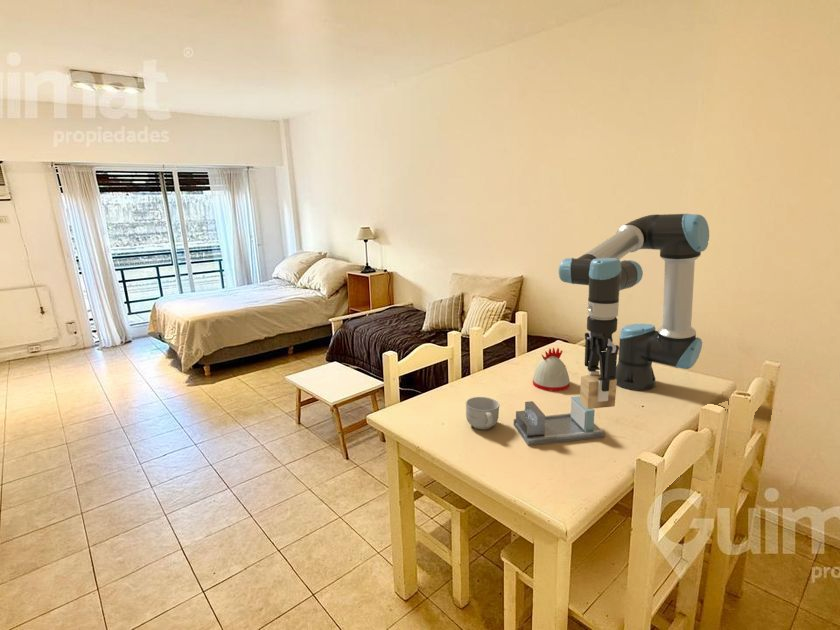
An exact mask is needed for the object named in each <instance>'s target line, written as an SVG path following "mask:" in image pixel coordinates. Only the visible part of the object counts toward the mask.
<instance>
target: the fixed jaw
mask: <svg viewBox="0 0 840 630" xmlns="http://www.w3.org/2000/svg"><path fill="white" fill-rule="evenodd" d="M545 416H546V414H544V412H542V410H541V409H540V408H539V407H538V406H537V404H536V403H535V402H534V401H530V400H529V401H525V402H524V410H519V411H518V410H517V411H515V419H516V424H517V425H518V426H519V428H520V429H521V431H522V432H523V434H524V435H525V436H526V438H531V437H540V436H545Z"/></svg>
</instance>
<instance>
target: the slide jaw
mask: <svg viewBox="0 0 840 630" xmlns="http://www.w3.org/2000/svg"><path fill="white" fill-rule="evenodd" d="M595 411H596V410H595V408H593V409H587V408H586V407H585V406H584V405H582V404H581V403H580V395H578V396H571V400H570V413H571V418H572V419H573V420H574V421H575V422H576V423H577V424H578V425H579V426H580V427H581V428H582V429H583V430H584V431H585V432H586V431H593V429H594V424H595Z"/></svg>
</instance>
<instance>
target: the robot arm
mask: <svg viewBox="0 0 840 630" xmlns="http://www.w3.org/2000/svg"><path fill="white" fill-rule="evenodd" d="M709 241H710V227H709V223H708V221H707V219H706V217H704V216H703V215H702V214H697V213H694V214H691V213H674V214H673V213H671V214H669V213H668V214H648V215H646V216H645V215H644V216H642V217H639V218H636V219H634V220H631V221H630V222H628V223H626V224H624V225H622V226H621V227H619V228H618V229H617V230H616V232H615V234H614V235H612V236H610V237H608V238H607V239H606V240H604V241H602V242H601V243H599V244H598V245H596V246H595V247H593V248H592V249H590V250H589V251H587V252H586V253H583V254H582V255H581V256H579V257H578V258H574V257H571V258H570V257H567V258H566V257H565V258H564V259H562V261H561V262H560V264H559V266H558V277H559V280H560V281H561V282H563V283H565V284H566V283H568V284H572V285H583V286H588V302H587V303H588V304H587V305H586V307H587V315H588V316H587V317H586V330H587V331H588V332H585V333H584V339H585V344H584V345H585V346H584V366H585V367H586V368H587V371H588V375H597V374H600V376H601V378H598V398H597V401H598V402H602V401H608V394H609V382H610V380H615V379H617V384H616V386H617V387H621V388H624V389H627V390H633V391H648V390H652V389H654V388H655V387H656V376H655V373H654V370H653V363H656V364H659V365H664V366H668V367H673V368H676V369H678V368H679V369H684V370H689V369H691V368H693V366H694V365H695V364H696V363H697V361H698V359H699V356H700V354H701V351H702V347H703V340H702V339H701V338H700V337H698V336H697V330H696V329H695V328H694V327H692V317H693V316H692V315H693V300H694V299H693V297H694V283H695V281H694V280H695V264H696V263H695V261H696V260H698V258H700V257H701V255H702V254H701V253H703V252H704V251H706V249H707V248H708V246H709ZM639 250H654V251H655V250H658V251H659V257H660V258H661V260H663V261H664V273H663V274H664V277H663V278H664V279H663V280H664V281H663V304H662V306H663V307H662V308H663V311H662V325H661V326H660V327H658V329H657V330H656V325H653V324H649V323H634V324H626V325H624V326H623V327H621V329H620V334H619V336H618V337H619V342H618V343H619V344H616V345H615V344H614V343H613V342H614V341H613V334H614V333H616V332H617V330H618V318H617V317H618V316H619V305H620V304H619V303H620V299H619V298H620V291H623V290H626V289H630V288H633V287H635V285H638V284H639V283H640V282H641V280H642V278H643V275H644V274H643V272H644V271H643V268H642V265H640V263H639V262H637V261H635V260H626V259H624V260H622V261H621V259H622V258H624V257H625V256H626V255H628V254H629V253H635V252H637V251H639ZM696 336H697V337H696Z"/></svg>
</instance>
